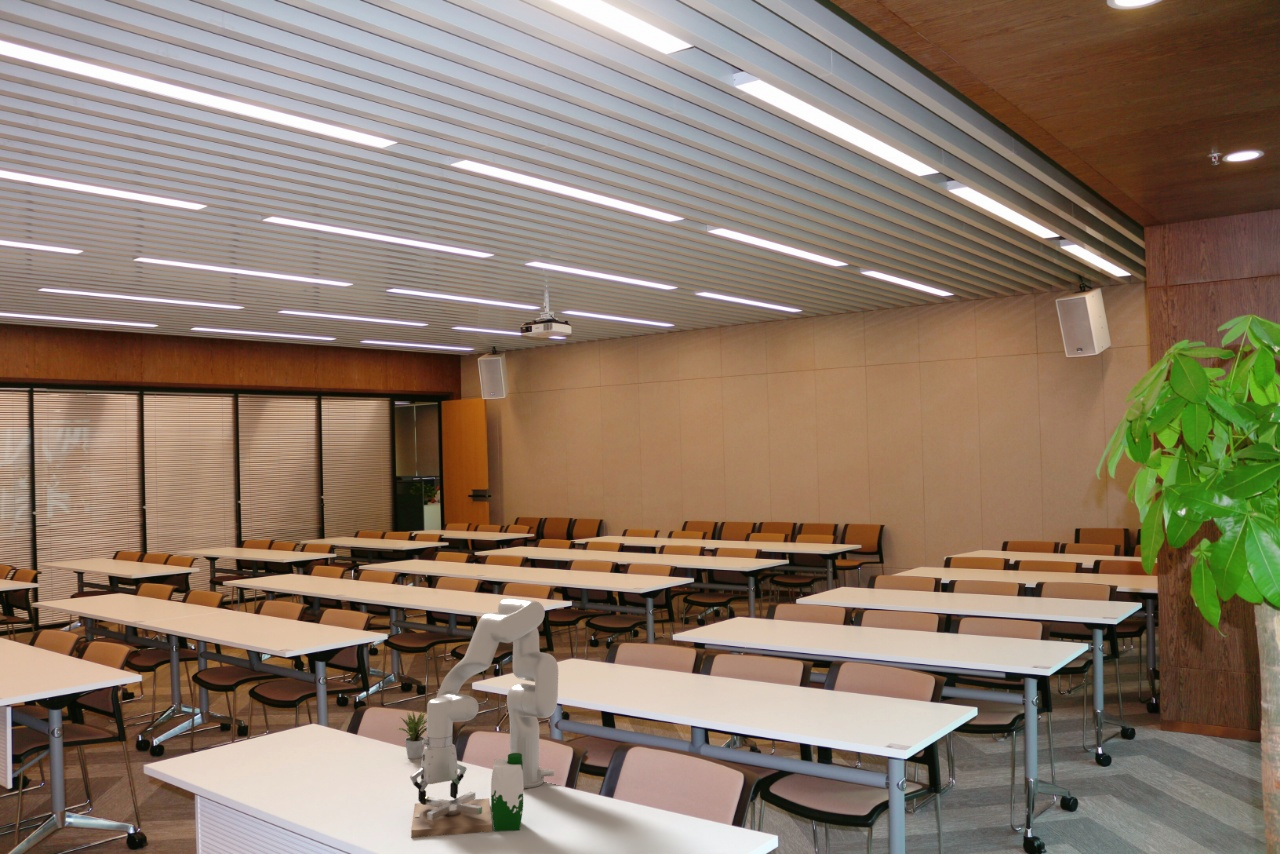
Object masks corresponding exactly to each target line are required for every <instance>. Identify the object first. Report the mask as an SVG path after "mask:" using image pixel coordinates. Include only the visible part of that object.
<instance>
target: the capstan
mask: <svg viewBox="0 0 1280 854" xmlns="http://www.w3.org/2000/svg"><path fill="white" fill-rule="evenodd" d="M474 799H476V792H475V791H469V792H467V793H465V794H463V795H461V796H459V797H457V798H456V799H451V800H448V799H442V798H439V797H438V798H437V797H432V796H426V804H425V805H428V806H433V807H438V808H436V809H434V810H432V811H430V812H428V813H427V819H428V820H434V819H436V818H438V817H440V816H442V815H446V816H455V815H459V814H460V813H461V812H465V813H471V814H476V815H479V814H481V813H482V806H476V805H471V804H466V803H468V802H470V801H472V800H474Z"/></svg>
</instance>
